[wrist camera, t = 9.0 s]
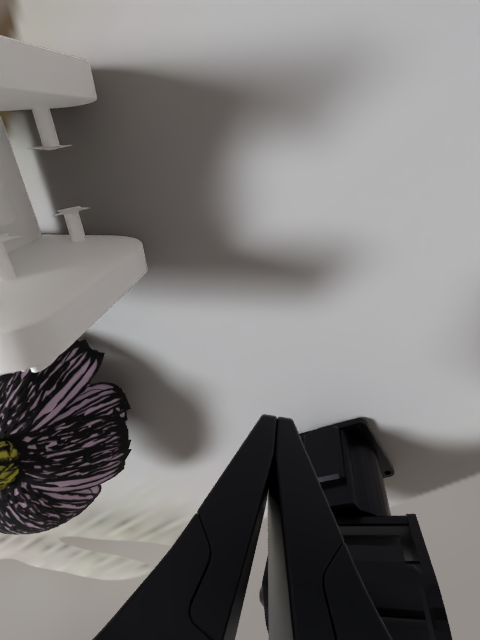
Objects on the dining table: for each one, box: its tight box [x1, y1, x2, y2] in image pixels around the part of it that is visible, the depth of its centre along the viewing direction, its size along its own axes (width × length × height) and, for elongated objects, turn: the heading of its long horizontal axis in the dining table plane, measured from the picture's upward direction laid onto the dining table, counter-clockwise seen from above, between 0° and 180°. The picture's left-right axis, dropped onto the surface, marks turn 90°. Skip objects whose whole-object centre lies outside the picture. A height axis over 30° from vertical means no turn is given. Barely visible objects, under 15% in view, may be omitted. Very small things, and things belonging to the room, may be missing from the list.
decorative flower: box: [0, 339, 132, 535], centre depth 25 cm, size 14×12×15 cm
